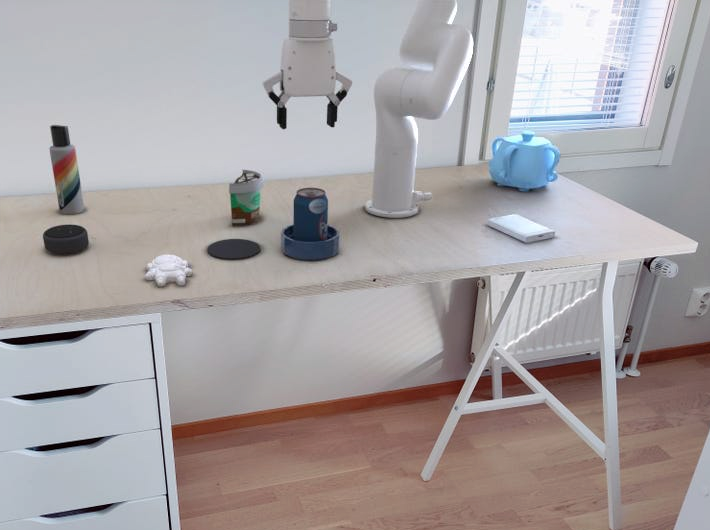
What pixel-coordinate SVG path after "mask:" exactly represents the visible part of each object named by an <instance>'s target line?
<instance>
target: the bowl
mask: <svg viewBox="0 0 710 530" xmlns="http://www.w3.org/2000/svg"><path fill="white" fill-rule="evenodd" d="M280 246H281V247H280V250H281V251H282V253H283V254H284V255H286V256H288V257H290V258H294V259H298V260H305V261H316V260H323V259H324V260H325V259H327V258H330V257H331V258H332V257H333V256H335V255H337V254H338V253H339V249H340V230H339V229H338V228H336V227H335V226H333V225H331V224H327V240H325V241H318V242H303V241H297V240H293V224H289V225H286V226H285V227H284V228H282V229H281V232H280Z"/></svg>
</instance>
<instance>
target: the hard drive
mask: <svg viewBox="0 0 710 530" xmlns="http://www.w3.org/2000/svg"><path fill="white" fill-rule="evenodd" d="M486 226H488V227H491V228H493V229H495V230H497V231H500V232H501V233H504V234H506V235H508V236H511V237H513V238H514V239H517V240H518V241H521V242H523V243H525V244H528V243H534V242H539V241H543V240H549V239H553V238H555V236H556V230H552V229H550V228H548V227H546V226H543V225H542V224H539V223H536V222H534V221H531V220H530V219H527V218H526V217H522V216H521V215H519V214H516V213H513V214H508V215H503V216H499V217H498V216H497V217H492V218H489V219H487V224H486Z"/></svg>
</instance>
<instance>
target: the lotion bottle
mask: <svg viewBox="0 0 710 530" xmlns="http://www.w3.org/2000/svg"><path fill="white" fill-rule="evenodd" d="M49 129H50V135H51V143H52V145H51V146H50V147H49V155H50V161H51V168H52V173H53V179H54V185H55V192H56V197H57V203H58V210H59V212H60V213H61V214H63V215H76V214H80V213H83V212H84V210H85V206H84V205H85V204H84V197H83V191H82V185H81V177H80V171H79V170H80V169H79V164H78V163H79V162H78V157H77V150H76V145H74V144H71V139H70V132H69V126H68V125H60V124H52V125H50V126H49Z"/></svg>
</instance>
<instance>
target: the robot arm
mask: <svg viewBox="0 0 710 530" xmlns="http://www.w3.org/2000/svg"><path fill="white" fill-rule="evenodd" d="M331 4H332V0H289V1H288V37H285V38H283V43H282V47H281V49H282V50H281V57H280V67H279V69H280V70H279V72H278V73H276V74H274V75H272V76H271V77H269V78H268V79H266V80H264V81H263V82H262V86H263V89H264V90H265V92H266V95H267V97H268V98H269V99H270V100H271V101H272V103H274V104H275V106H276V124H277V125H279V128H280V129H282V130H286V129H287V125H288V124H287V123H288V122H287V120H288V118H287V117H288V113H287V112H288V109H287V107H286V104H287V102H288V101H289V100H290V98H291V97H293V98H303V97H305V98H306V97H307V98H310V97H326V98H327V100H328V101H329V102H328V103H327V107H326V125H327V126H329V127H330V128H335V127H336V125H335V124H336V123H337V122H338V106H340V104H341V102H342V101H343V100H344V99H345V98H346V97H347V95H348V92H349V91H350V89H351V87H352V85H353V81H352V80H351V79H350V78H348V77H346V76H345V75H342V74H341V73H339V72H337V70H336V56H335V55H336V54H335V46H334V39H333V38H332V37H330V36H331V35H332V33H333V32H337V31H338V24H337V23H334V22H332V20H331V10H332V9H331V8H332V6H331ZM457 9H458V2H457V0H418V2H417V5H416V6H415V10H414V12H413V15H412V17H411V19H410V21H409V23H408V25H407V28H406V30H405V33H404V34H403V37H402V39H401V41H400V46H399V52H398V56H399V59H400V61H401V62H402V63H403V64H404V65H405V66H408V67H410V68H406V67H391V68H388V69H385V70H383V71H382V72H381V73H380V74H379V75H378V76H377V78H376V80H375V82H374V87H373V100H374V101H373V102H374V107H375V108H374V109H375V116H376V117H375V119H376V121H375V125H376V126H375V127H376V128H375V129H376V130H375V144H374V145H375V146H374V159H373V160H374V161H373V177H372V178H373V179H372V193H371V194H372V196H371V199H369V200H368V201H366V202H365V204H364V209H365V211H366V212H367V213H369V214H370V215H373V216H377V217H380V218H388V219H389V218H390V219H391V218H392V219H399V218H400V219H401V218H408V217H412V216H414V215H416V214H417V213H418V212H419V205H418V203H420V202H427V201H432V198H433V195H432V192H430V191H427V192H422V190H415V189H414V188H415V176H416V165H417V154H418V145H419V131H418V127H417V123H416V120H415V119H414V118H417V119H423V120H429V121H430V120H431V121H434V120H435V121H436V120H439V119H441V118H442V117H443V116H444V115H446V113H447V112H448V111H449V108H450V107H451V105H452V103H453V100H454V98H455V97H456V94H457V92H458V90H459V87H460V85H461V84H462V80H463V78H464V77H465V74H466V72H467V70H468V67H469V66H470V65H469V64H470V62H471V59H472V55H473V50H474V49H473V47H474V39H473V36H472V33H471V31H470V30H469V28H468V27H466V26H465V25H462V24H458V23H453V21H454V18H455V16H456V13H457ZM336 81H337V82H339V83H341V87H340V89H339V90H337V92H336V93H335V91H336V84H337V83H336ZM278 83H279V91H280V93H279V94H278V95H277V94H276V92H275V91H274V88H273V87H274V86H275V85H277V84H278Z"/></svg>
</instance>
